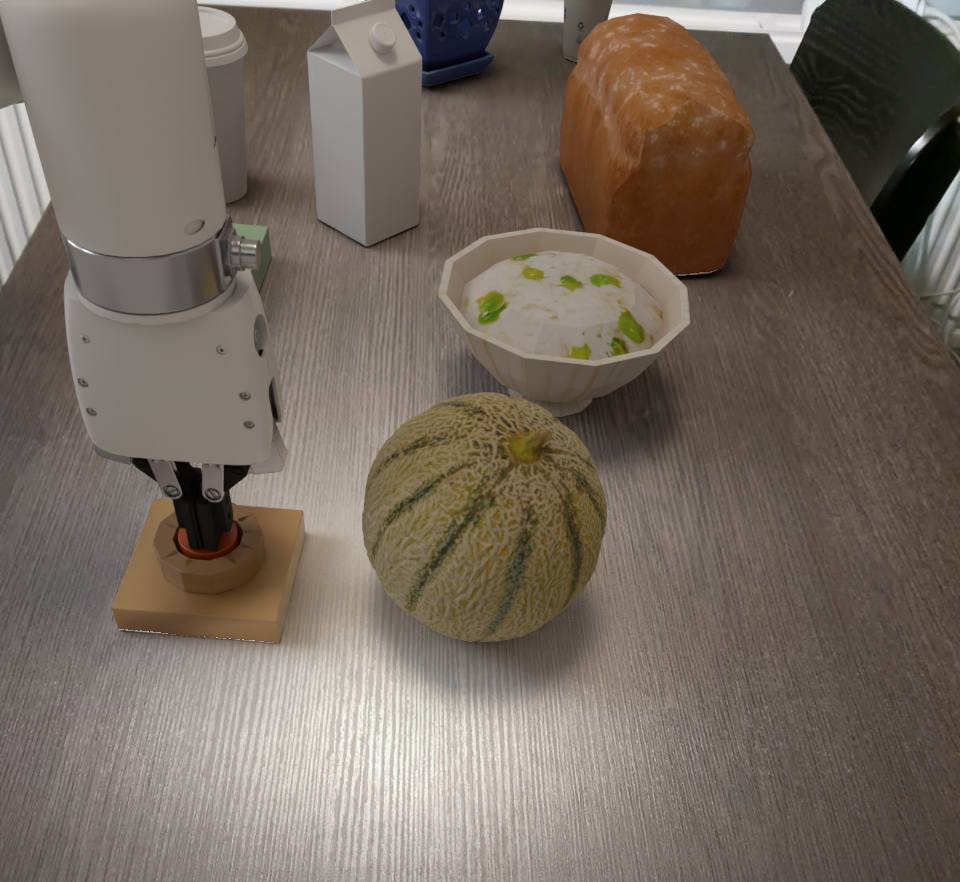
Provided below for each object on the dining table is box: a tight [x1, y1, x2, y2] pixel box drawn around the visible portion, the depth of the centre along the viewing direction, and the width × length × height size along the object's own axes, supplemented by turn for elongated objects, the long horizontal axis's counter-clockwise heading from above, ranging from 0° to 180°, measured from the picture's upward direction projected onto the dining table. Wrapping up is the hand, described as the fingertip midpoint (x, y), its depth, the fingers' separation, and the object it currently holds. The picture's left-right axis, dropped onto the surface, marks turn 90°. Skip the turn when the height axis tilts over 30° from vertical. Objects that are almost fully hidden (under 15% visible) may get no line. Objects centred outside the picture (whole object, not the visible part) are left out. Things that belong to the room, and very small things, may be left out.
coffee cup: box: [198, 5, 249, 205], centre depth 92 cm, size 10×10×15 cm
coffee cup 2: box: [562, 0, 614, 61], centre depth 123 cm, size 7×7×10 cm
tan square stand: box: [111, 497, 306, 644], centre depth 62 cm, size 10×10×4 cm
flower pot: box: [364, 0, 505, 88], centre depth 116 cm, size 13×13×12 cm
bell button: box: [178, 523, 240, 560], centre depth 61 cm, size 4×4×2 cm
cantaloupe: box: [361, 391, 608, 643], centre depth 58 cm, size 15×15×15 cm
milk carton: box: [306, 0, 423, 247], centre depth 88 cm, size 7×7×19 cm
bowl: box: [437, 226, 691, 418], centre depth 76 cm, size 19×19×10 cm
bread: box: [558, 12, 757, 275], centre depth 94 cm, size 14×26×16 cm, turn 7°
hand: (209, 534), depth 60 cm, fingers closed
